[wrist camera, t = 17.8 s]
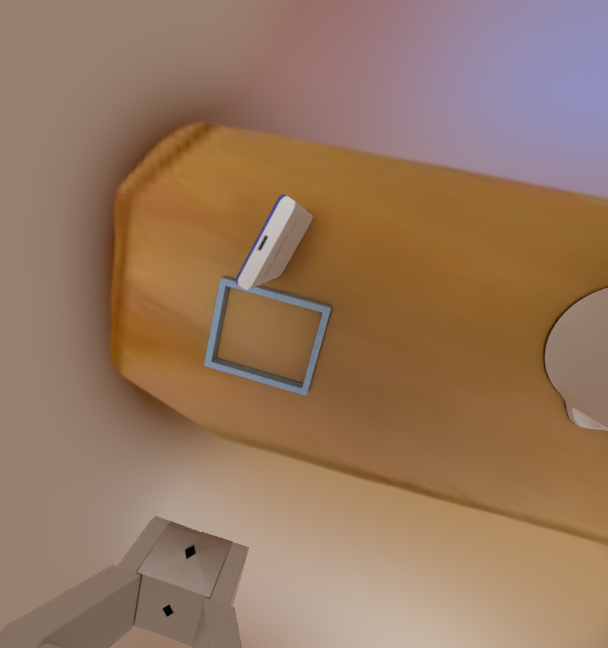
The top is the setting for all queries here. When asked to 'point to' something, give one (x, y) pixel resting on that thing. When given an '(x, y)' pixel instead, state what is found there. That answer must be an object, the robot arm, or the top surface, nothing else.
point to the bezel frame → (249, 372)
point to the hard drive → (275, 243)
